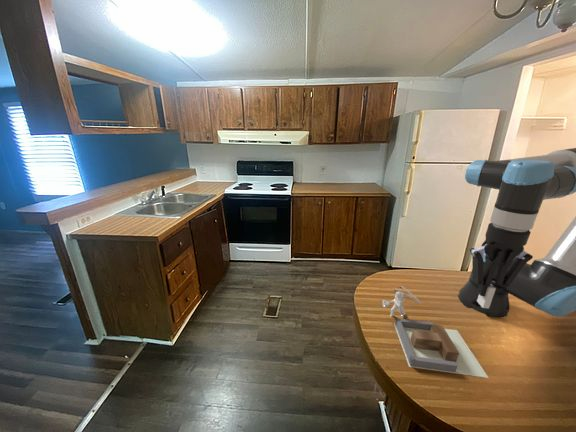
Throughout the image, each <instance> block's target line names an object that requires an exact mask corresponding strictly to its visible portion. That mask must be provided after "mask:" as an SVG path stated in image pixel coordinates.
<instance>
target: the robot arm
mask: <svg viewBox="0 0 576 432" xmlns="http://www.w3.org/2000/svg"><path fill="white" fill-rule="evenodd" d="M464 179H465V181H466V183H468V184H470V185H473V186H477V187H483V188H489V189H494V190H498V194H497V197H496V201H495V204H494V207H493V209H492V213H491V215H490V220H489V221H490V223H488V224H487V225H488V226H487V229H486V232H485V240H484V242H482V243H481V246H480V247H477V248H475V247H472V248H470V249H469V253H470V254H471V256H472V259H471V260H472V267H471V268H472V269H471V271H470V276H469V278H468V281H467V282H466V283H465V284H464V286H462V287H461V288H460V290H459V292H458V295H457V296H458V300H459V301H460V302H461V304H462V305H463V306H465V307H466V308H468V309H473V310H474V311H477V312H479V313H480V314H484V315H485V316H486V317H488V318H493V319H503V318H506V317H507V316H508V314H509V312H510V310H511V309H510V301H509V300H510V298H509V294H510V296H513V297H515V298H517V299H519V300H521V301H523V302H525V303H526V304H528V305H530V306H531V307H534V309H536V310H540V311H542V312H544V313H546V314H548V315H551V316H552V317H557V318H558V317H564V316H567V315H569V314H572V313H573V312H574V311H576V216H575V217H574V218H573V219H572V221H571V222H570V223H569V224H568V226H567V227H566V228H565V230H564V231H563V232H562V234H561V236H559V238H558V239H557V241H555V243H554V244H553V246H552V247H551V249H550V250H548V252H547V254H546V255H545V256H544V257H542V258H536V259H534V260H533V261H532V263H531V264H530V263H528V262H530V261H531V260H532V259H533V258H534V256H533V255H532V254H530V253H528V252H527V251H525V246H526V245H527V243H528V240H529V238H530V235H531V230H532V229H533V228H534V226H535V222H536V220H537V217H538V214H539V212H540V210H541V209H540V208H541V206H542V204H543V201H544V200H551V199H552V200H553V199H560V198H561V199H562V198H565V197H566V196H570V195H573V194H574V193H576V147H572V148H567V149H566V148H565V149H559V150H554V151H551V152H549V153H547V154H542V155H534V156H527V157H520V158H519V157H518V158H511V159H510V158H509V159H502V160H489V159H484V160H483V159H477V160H473V161H472V162H470V164H469V165H468V166H467V168H466V169H465V173H464Z"/></svg>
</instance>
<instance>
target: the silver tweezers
mask: <svg viewBox="0 0 576 432" xmlns="http://www.w3.org/2000/svg"><path fill="white" fill-rule="evenodd" d="M400 286H401V287H402V288H403V289H404V290H403V289H402V288H401V289H402V290H403V291H402V290H400V289H397V288H396V286H395V287H394V288H395V289H394V288H393V291H396V292H398V291H399V292H401V293H404V297H407V298H409V299H410V300H412V301H414V302H416V303H418V304H423V301H421V300H420V299H418V297H416V296H415V295H414V294H413V293H412V292H411V291H409V290H408V289H407V288H406V287H405V286H403V285H400ZM406 291H407V292H408V293H409V294H408V293H407V292H406ZM411 295H412V296H413V297H412V296H411Z"/></svg>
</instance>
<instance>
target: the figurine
mask: <svg viewBox="0 0 576 432" xmlns="http://www.w3.org/2000/svg"><path fill="white" fill-rule="evenodd" d="M404 293H405V292H404ZM404 293H401V292H399V291H396V292H395V296H394V299H392V300H389V301H388V300H386V299H382V300H381V303H382V307H383V308H387V307H388V306H390V303H393V304H394V305H393V306H391V309H390V315H389V317H394V315H395V311H396V310H397V311H398V313H399V314H400V315H401V317H405V316H406V315H407V313H406V312H405V311H403V310H404V309H405V308H404V302H406V298H404V297H405V295H404Z"/></svg>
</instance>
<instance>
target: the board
mask: <svg viewBox="0 0 576 432" xmlns="http://www.w3.org/2000/svg"><path fill="white" fill-rule="evenodd" d="M432 324H435V323H434V322H433V321H427V320H426V321H424V320H416V319H415V320H414V319H406V318H395V322H393V326H394V328H395V331H396V335H397V336H398V339H399V342H400V345H401V348H402V350H403V354H404V355H405V356H404V357H405V359H406V362H407V364H408V368H414V369H415V368H416V369H421V370H429V371H430V370H431V371H436V372H443V373H450V374H458V375H465V376H473V377H479V378H487V379H489V376H488V374H487V373H486V372H485V370H484V369H483V367H482V366H481V364H480V362H479V361H478V359H477V358H476V356H475V355H474V353H473V352H472V351H471V349H470V348H469V346H468V345H467V343H466V342H465V340H464V338H463V337H462V336H461V334H460V332H459V331H458V330H457V329H449V328H444V329H445V331H446V332H447V334H448V335H449V337H450V339H451V340H452V342H453V344H454V345H455V347H456V349H457V350H458V352H459V355H458V358H457V361H456V362H453V361H445V360H443V359H442V357H441V355H440V353H439V351H433V350H425V349H417V348H414V347H413V345H412V342H411V335H412V331H413V330H416V331H424V332H430V330H431V326H432Z"/></svg>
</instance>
